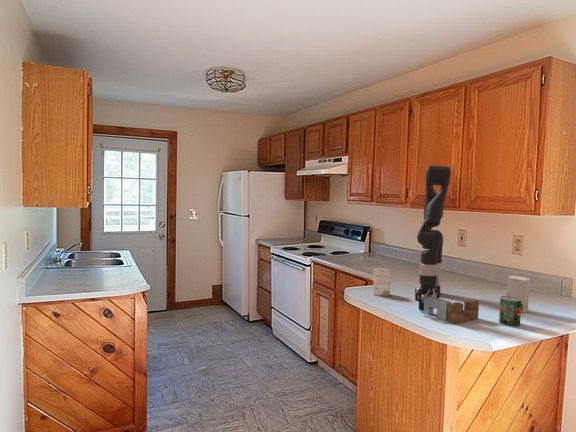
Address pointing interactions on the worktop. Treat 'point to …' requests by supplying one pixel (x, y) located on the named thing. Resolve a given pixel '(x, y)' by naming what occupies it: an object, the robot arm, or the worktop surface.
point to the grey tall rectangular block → (436, 307)
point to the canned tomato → (510, 311)
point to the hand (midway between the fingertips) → (427, 309)
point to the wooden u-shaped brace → (463, 311)
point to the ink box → (381, 282)
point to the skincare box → (519, 290)
